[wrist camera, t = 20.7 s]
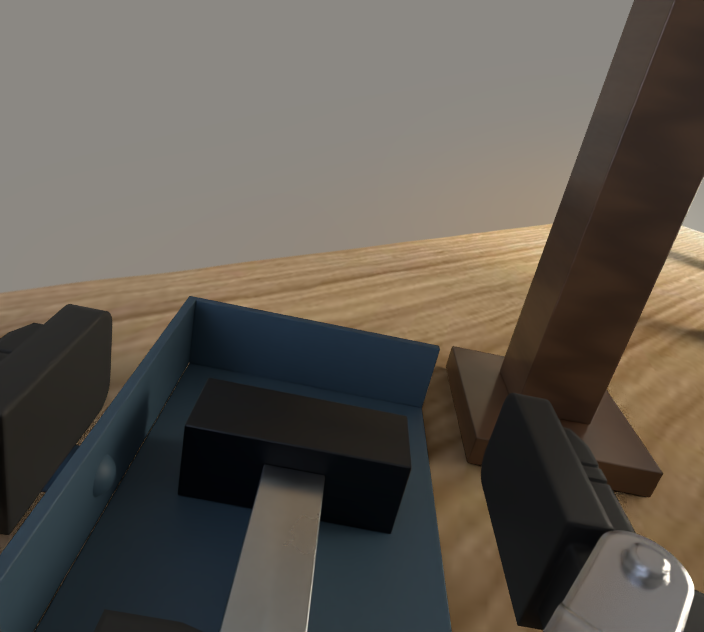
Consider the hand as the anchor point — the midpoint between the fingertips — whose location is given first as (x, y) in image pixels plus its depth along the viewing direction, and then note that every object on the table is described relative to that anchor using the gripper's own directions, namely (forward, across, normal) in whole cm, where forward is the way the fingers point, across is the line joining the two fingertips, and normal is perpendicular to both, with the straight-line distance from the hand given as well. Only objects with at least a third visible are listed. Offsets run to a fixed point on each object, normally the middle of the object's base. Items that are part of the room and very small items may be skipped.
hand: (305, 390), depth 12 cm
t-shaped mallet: (+2, 0, +10) cm, 10 cm away
